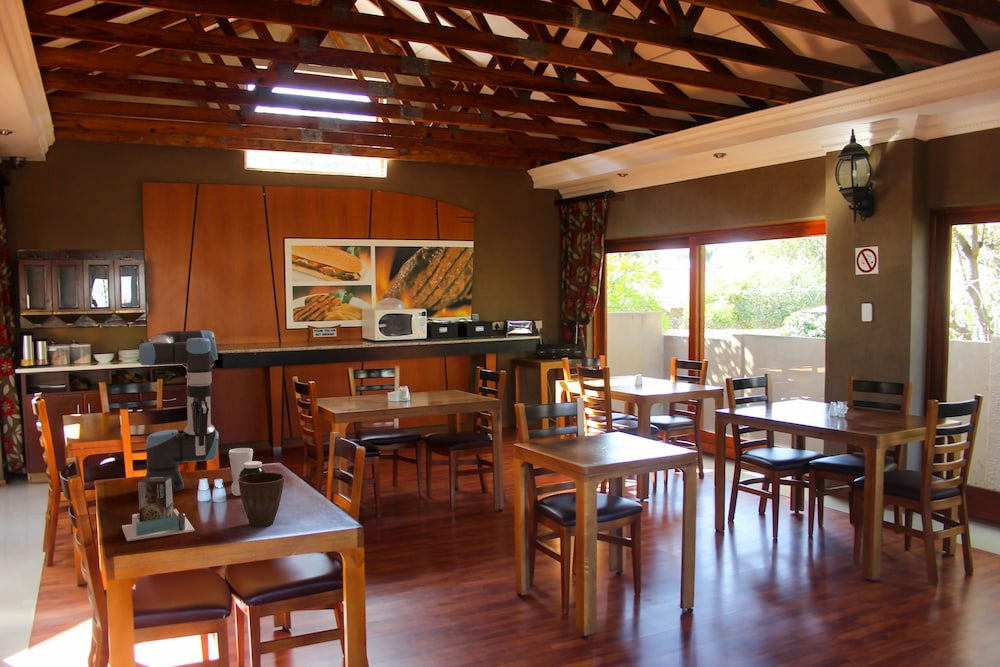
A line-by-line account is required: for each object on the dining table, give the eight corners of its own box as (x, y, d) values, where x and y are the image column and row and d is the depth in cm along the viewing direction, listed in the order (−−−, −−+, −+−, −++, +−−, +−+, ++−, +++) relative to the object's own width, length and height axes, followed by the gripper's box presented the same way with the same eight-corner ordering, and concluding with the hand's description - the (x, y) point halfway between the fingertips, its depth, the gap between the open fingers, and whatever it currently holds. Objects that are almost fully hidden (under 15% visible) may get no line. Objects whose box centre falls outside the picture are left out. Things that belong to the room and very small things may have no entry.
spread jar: (268, 489, 306) (268, 461, 306) (259, 497, 295) (259, 467, 295) (239, 489, 307) (238, 460, 306) (228, 497, 295) (228, 467, 295)
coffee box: (174, 523, 259) (173, 476, 258) (167, 529, 252) (166, 480, 251) (146, 524, 258) (145, 476, 257) (138, 529, 252) (137, 481, 251)
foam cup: (235, 485, 314) (234, 453, 314) (225, 481, 321) (225, 450, 320) (257, 481, 321) (256, 450, 320) (247, 477, 327) (246, 447, 327)
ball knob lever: (184, 527, 253) (183, 512, 252) (185, 529, 251) (185, 514, 251) (136, 535, 244) (135, 520, 244) (137, 537, 242) (137, 521, 242)
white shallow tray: (121, 527, 256) (121, 515, 256) (185, 518, 267) (185, 506, 266) (127, 541, 242) (126, 528, 242) (194, 531, 252) (194, 518, 252)
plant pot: (292, 524, 260) (292, 477, 259) (251, 533, 250) (250, 485, 249) (272, 515, 271) (271, 470, 270) (231, 523, 261) (230, 477, 260)
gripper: (182, 383, 258) (183, 452, 259) (192, 387, 247) (193, 459, 249) (205, 381, 262) (206, 450, 264) (216, 385, 252) (217, 457, 253)
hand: (200, 454), depth 256 cm, fingers closed
